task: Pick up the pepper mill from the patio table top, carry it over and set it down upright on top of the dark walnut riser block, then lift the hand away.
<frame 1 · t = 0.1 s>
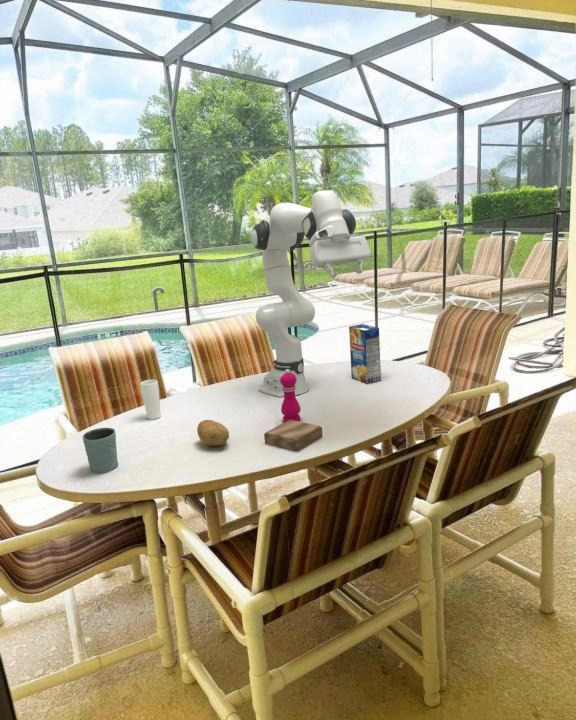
hand: (347, 274, 178), 54 cm above the table, tool tilted 30°, fingers open, 8 cm apart
pepper mill: (291, 421, 208), on the table
green textured cup: (105, 468, 181), on the table
walnut riser: (293, 440, 190), on the table
drinking glass 2: (154, 418, 223), on the table
potato: (215, 445, 192), on the table
juice carton: (366, 380, 249), on the table
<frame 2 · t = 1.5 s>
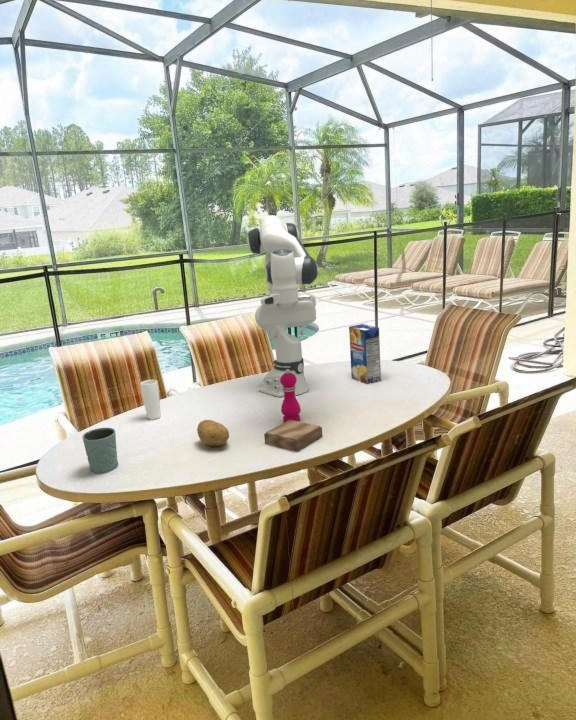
hand: (288, 336, 197), 33 cm above the table, tool pointing down, fingers open, 8 cm apart
nothing on the table moved.
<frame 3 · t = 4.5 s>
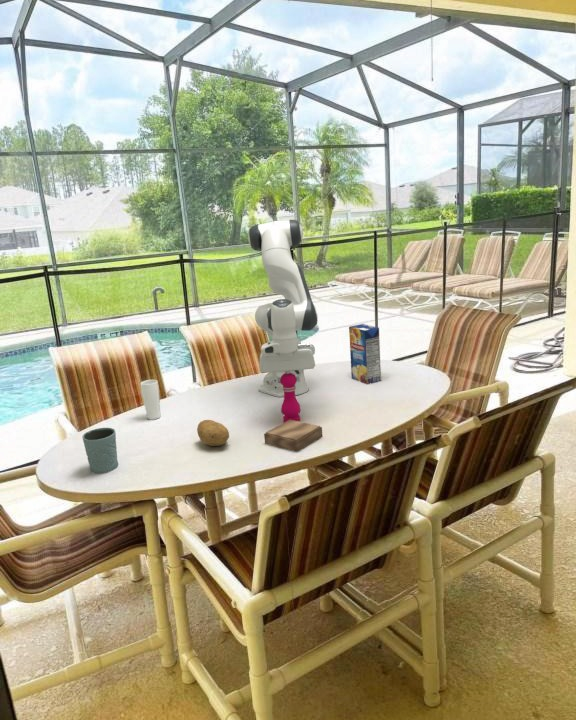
hand: (288, 382, 204), 15 cm above the table, tool pointing down, fingers closed on pepper mill, 6 cm apart
pepper mill: (291, 421, 208), on the table, touching gripper
everything else where it was.
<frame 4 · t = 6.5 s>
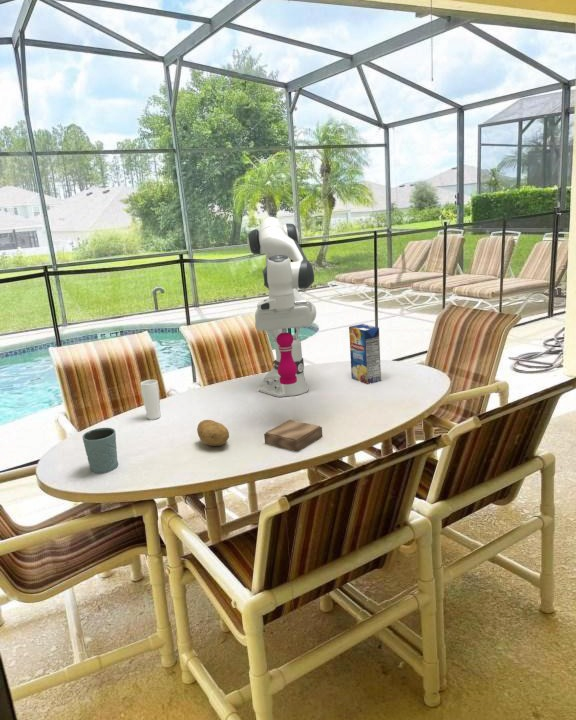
hand: (285, 340, 200), 31 cm above the table, tool pointing down, fingers closed on pepper mill, 6 cm apart
pepper mill: (288, 382, 204), point 15 cm above the table, touching gripper
everything else where it was.
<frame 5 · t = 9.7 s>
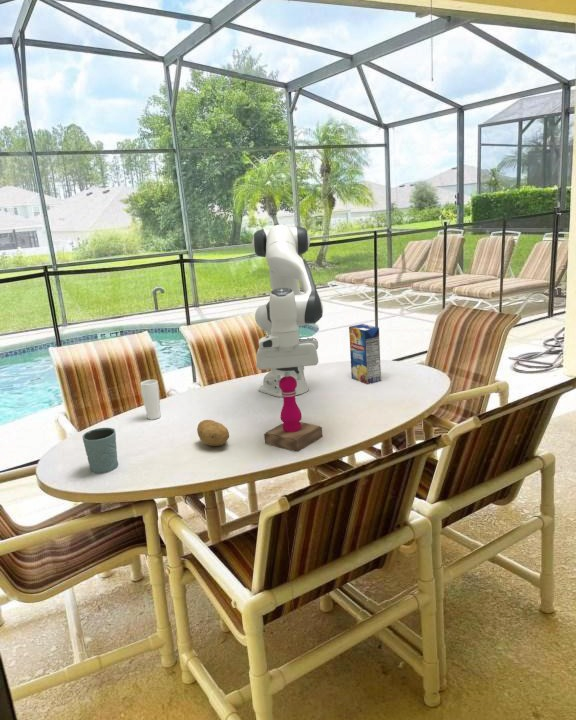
hand: (288, 380, 184), 22 cm above the table, tool pointing down, fingers open, 5 cm apart
pepper mill: (292, 429, 190), point 4 cm above the table, touching gripper, walnut riser
everything else where it was.
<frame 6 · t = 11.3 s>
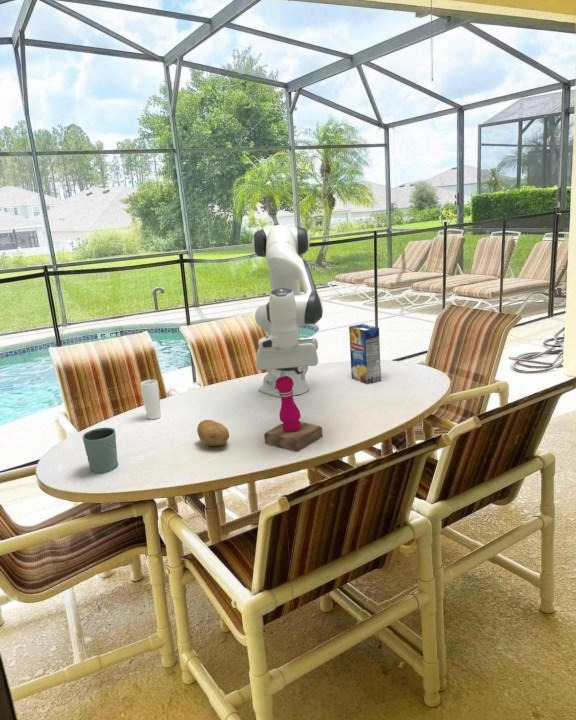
hand: (288, 380, 184), 22 cm above the table, tool pointing down, fingers open, 8 cm apart
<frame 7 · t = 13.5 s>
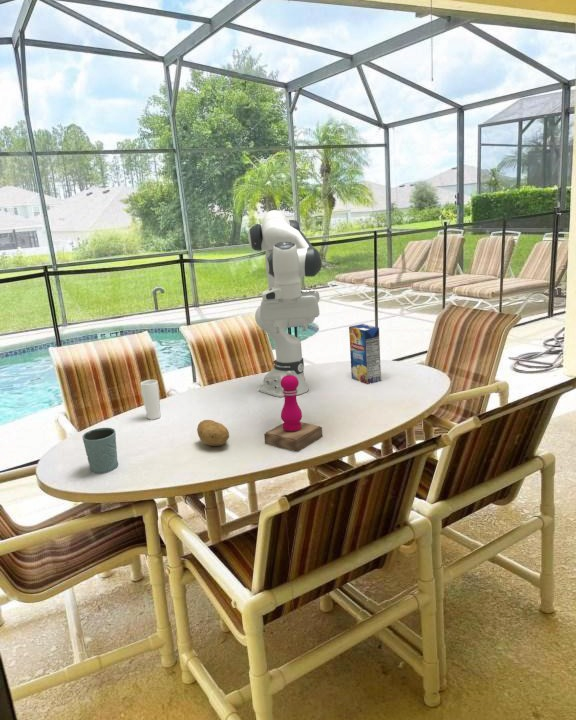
hand: (290, 331, 191), 35 cm above the table, tool pointing down, fingers open, 8 cm apart
pepper mill: (292, 428, 190), point 4 cm above the table, touching walnut riser
everything else where it was.
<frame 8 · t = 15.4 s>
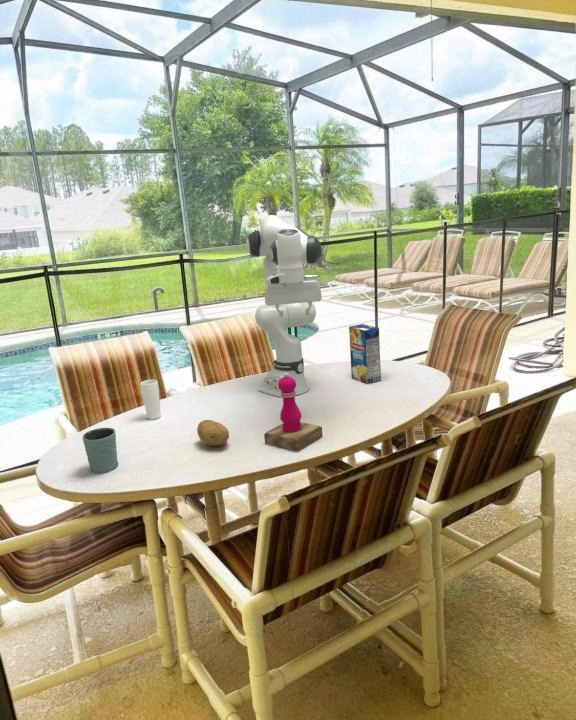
hand: (294, 315, 199), 39 cm above the table, tool pointing down, fingers open, 8 cm apart
at the end: pepper mill inside the target area on the walnut riser (0.7 cm from its centre), point 3.9 cm above the walnut riser's base; pepper mill tilted 2°; the gripper is holding nothing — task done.
